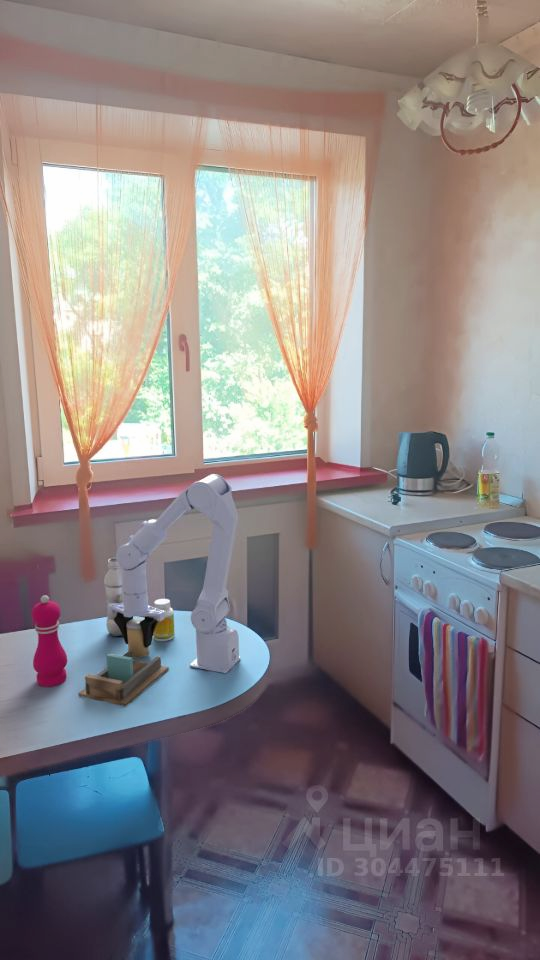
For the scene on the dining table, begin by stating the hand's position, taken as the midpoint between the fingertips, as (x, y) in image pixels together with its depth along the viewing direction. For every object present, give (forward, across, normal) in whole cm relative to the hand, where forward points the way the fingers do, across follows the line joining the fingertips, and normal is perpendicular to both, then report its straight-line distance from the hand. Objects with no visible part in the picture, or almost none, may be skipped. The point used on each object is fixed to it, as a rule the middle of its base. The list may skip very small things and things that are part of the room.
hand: (138, 644), depth 157 cm
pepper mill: (+3, -11, -18) cm, 21 cm away
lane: (+2, +5, -13) cm, 14 cm away
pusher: (+2, +5, -15) cm, 15 cm away
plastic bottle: (+3, -11, +8) cm, 14 cm away
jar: (+2, 0, 0) cm, 2 cm away
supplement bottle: (+3, +1, +10) cm, 10 cm away
